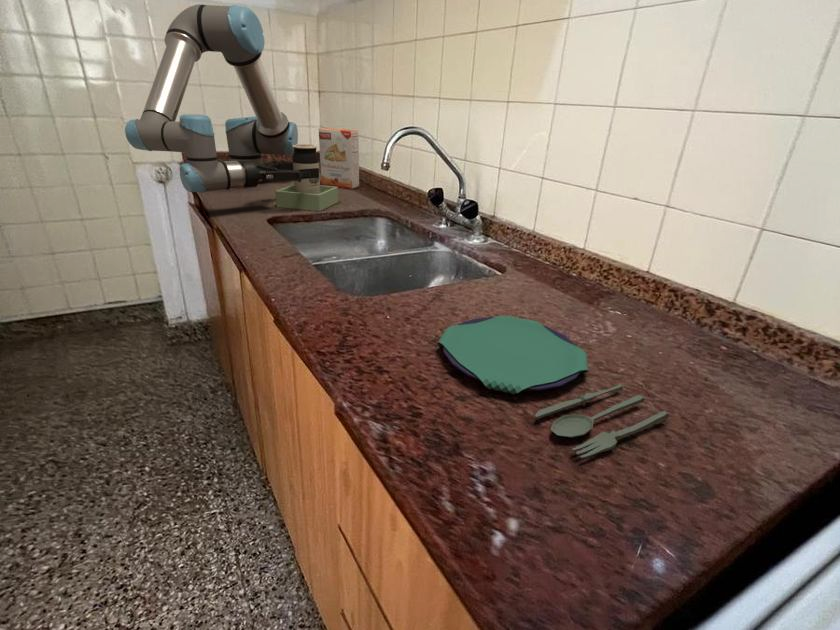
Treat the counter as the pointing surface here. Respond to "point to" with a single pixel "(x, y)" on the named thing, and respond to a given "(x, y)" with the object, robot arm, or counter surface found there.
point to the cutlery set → (534, 371)
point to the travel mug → (306, 160)
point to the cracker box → (339, 157)
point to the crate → (307, 198)
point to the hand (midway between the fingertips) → (307, 169)
